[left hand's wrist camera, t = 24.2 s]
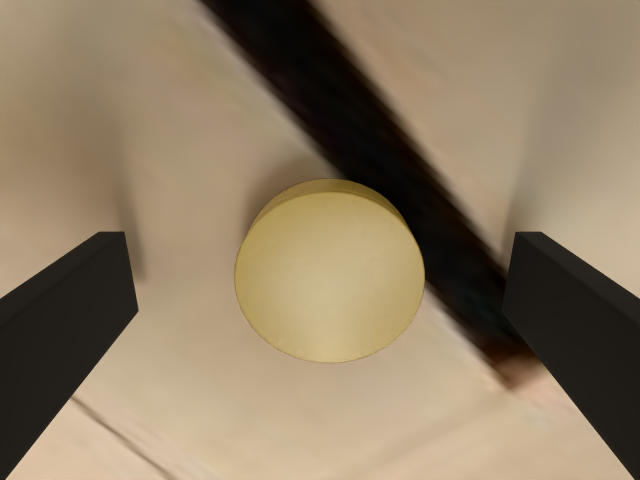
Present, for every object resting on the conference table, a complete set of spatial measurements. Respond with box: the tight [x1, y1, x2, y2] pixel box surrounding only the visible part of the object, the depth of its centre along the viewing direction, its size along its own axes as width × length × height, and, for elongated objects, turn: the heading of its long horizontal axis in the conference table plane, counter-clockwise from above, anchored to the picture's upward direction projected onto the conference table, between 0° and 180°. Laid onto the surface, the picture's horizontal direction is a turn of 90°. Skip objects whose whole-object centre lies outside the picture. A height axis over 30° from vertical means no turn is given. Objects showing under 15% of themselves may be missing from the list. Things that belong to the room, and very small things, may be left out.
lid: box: [234, 179, 425, 363], centre depth 13 cm, size 6×6×2 cm
